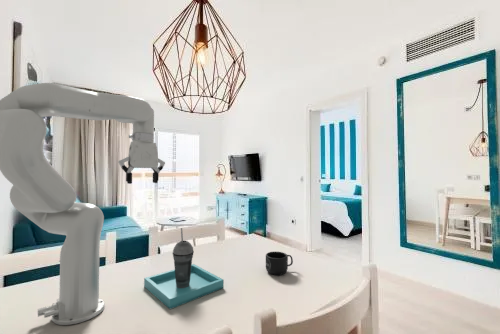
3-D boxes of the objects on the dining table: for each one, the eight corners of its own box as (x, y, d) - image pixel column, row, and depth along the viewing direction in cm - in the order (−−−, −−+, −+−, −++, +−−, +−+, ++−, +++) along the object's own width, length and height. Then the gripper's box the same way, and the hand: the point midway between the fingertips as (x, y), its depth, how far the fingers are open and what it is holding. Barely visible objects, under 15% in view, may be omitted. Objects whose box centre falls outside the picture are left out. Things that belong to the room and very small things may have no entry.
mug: (271, 278, 98) (271, 259, 98) (262, 269, 106) (262, 252, 106) (298, 274, 102) (298, 256, 102) (287, 266, 110) (287, 249, 111)
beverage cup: (180, 292, 84) (180, 232, 84) (167, 285, 89) (168, 228, 89) (197, 284, 90) (198, 228, 90) (185, 279, 94) (185, 225, 95)
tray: (169, 309, 75) (170, 299, 75) (144, 286, 90) (144, 278, 90) (223, 288, 89) (223, 279, 89) (193, 271, 104) (193, 263, 104)
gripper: (122, 135, 89) (121, 184, 89) (168, 140, 101) (168, 183, 101) (116, 137, 94) (115, 183, 94) (160, 141, 106) (160, 182, 106)
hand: (142, 183), depth 98 cm, fingers open, 9 cm apart
